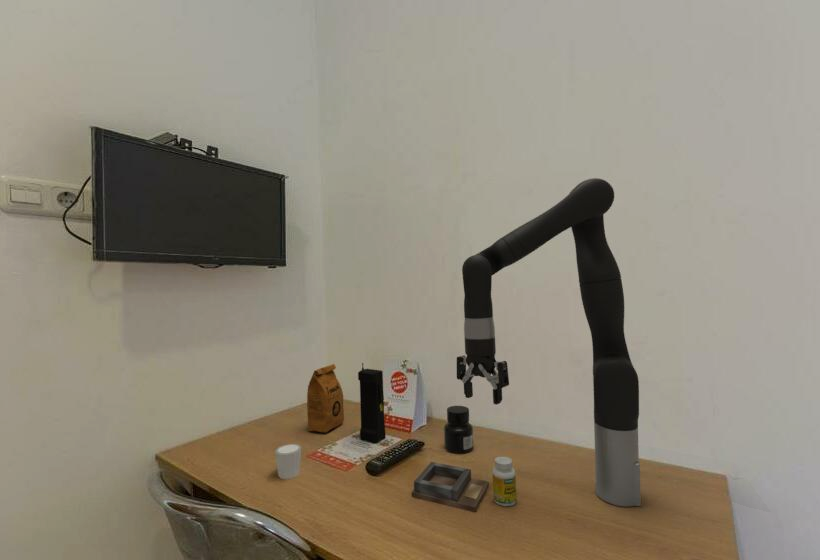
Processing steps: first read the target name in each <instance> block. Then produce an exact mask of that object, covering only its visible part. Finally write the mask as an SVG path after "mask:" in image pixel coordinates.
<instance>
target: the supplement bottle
mask: <svg viewBox="0 0 820 560" xmlns="http://www.w3.org/2000/svg"><path fill="white" fill-rule="evenodd" d="M516 477H517V474H516V470H515V469H514V467H513V460H512V458H509V457H507V456H498V457H495V458H494V467H493V468H492V491H493V492H492V494H493V495H492V496H493V501H494V502H495V503H496V504H497V505H499V506H502V507H511V506H514V505H515V504H516V503H517V480H516V479H517V478H516Z"/></svg>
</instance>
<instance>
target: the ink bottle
mask: <svg viewBox="0 0 820 560" xmlns="http://www.w3.org/2000/svg"><path fill="white" fill-rule="evenodd" d="M446 418H447V419H446V420H447V423H445V424H444V426H443V427H444V428H443V432H444V434H443V438H444V439H443V440H444V448H445V450H446V451H447V452H451V453H455V454H465V453H469V452H471V451H472V450H473V449H474V429H473V428H474V427H473V425H472V424H471V423H470V408H468V407H467V406H463V405H452V406H448V407H447V408H446Z"/></svg>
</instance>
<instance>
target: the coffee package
mask: <svg viewBox="0 0 820 560" xmlns="http://www.w3.org/2000/svg"><path fill="white" fill-rule="evenodd" d="M334 370H336V365H335V364H334V363H333V364H330V365H326V366H324V367H319V368H318V369H316V370H313V373H312V375H311V378H310V380H309V383H308V386H307V391H306V392H307V395H306V399H307V400H306V401H307V402H306V408H307V409H306V410H307V429H308V430H307V431H308V432H319V433H328V432H329V431H331V430H332V429H335V428H337V427H339V426H340V425H342V424H343V423H344V421H345V413H344V412H345V410H344V393H343V388H342V386H341V383H340V381H339V380H338V378H337V376H336V374H335V371H334Z"/></svg>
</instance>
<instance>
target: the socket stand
mask: <svg viewBox="0 0 820 560" xmlns="http://www.w3.org/2000/svg"><path fill="white" fill-rule="evenodd" d="M489 486H490V481H487V480H483V479H478V478H473V477H472V469H470V468H465V467H460V466H456V465H450V464H445V463H439V462H434V461H431V462H430V463H429V464H428V465H427V466H426V467H425V468H424V469H423V470H422V472H421V473H420V474H419V475H418V476H417V478H416V479H415V480H414V481H413V490H411V497H413V498H417V499H421V500H425V501H429V502H434V503H437V504H441V505H442V504H443V505H446V506H449V507H454V508H457V509H463V510H467V511H471V512H477V510H478V508H479V506H480V504H481V502H482V501H483V498H484V496H485V494H486V492H487V490H488V488H489Z"/></svg>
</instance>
